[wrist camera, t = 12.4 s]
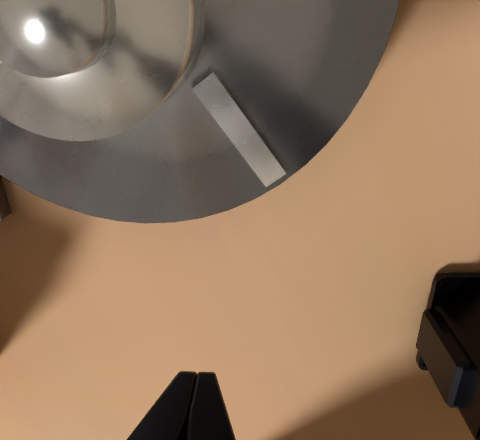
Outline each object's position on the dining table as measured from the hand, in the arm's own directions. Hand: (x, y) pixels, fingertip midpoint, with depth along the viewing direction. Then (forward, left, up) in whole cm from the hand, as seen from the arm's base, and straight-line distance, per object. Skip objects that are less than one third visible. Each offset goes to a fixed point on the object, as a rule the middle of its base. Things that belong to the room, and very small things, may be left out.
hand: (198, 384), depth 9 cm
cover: (+4, -8, -9) cm, 13 cm away
